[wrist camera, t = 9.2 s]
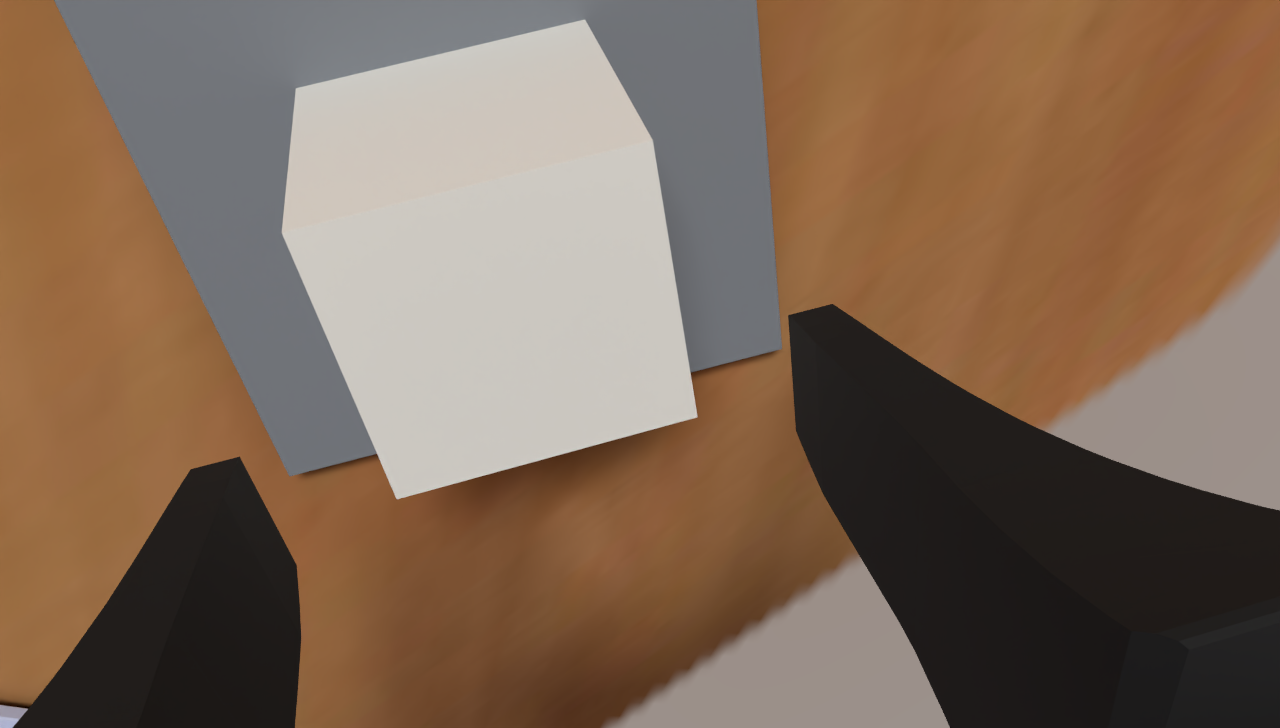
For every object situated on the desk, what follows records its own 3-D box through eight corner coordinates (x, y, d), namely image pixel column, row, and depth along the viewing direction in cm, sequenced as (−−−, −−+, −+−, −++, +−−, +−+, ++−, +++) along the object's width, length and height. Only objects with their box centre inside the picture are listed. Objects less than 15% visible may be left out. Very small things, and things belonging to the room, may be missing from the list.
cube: (631, 262, 21) (697, 417, 17) (386, 325, 20) (397, 498, 17) (585, 19, 18) (652, 139, 14) (296, 88, 17) (281, 232, 13)
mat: (773, 333, 24) (781, 348, 23) (290, 457, 23) (289, 476, 22) (730, -206, 17) (741, -201, 16) (37, -63, 16) (28, -52, 15)
